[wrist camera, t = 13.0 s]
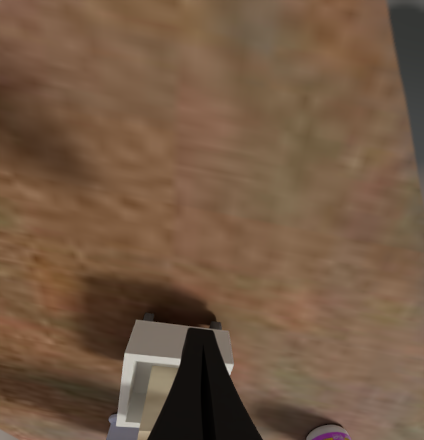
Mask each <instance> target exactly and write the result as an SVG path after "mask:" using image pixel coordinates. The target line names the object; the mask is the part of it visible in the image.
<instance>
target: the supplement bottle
mask: <svg viewBox="0 0 424 440" xmlns="http://www.w3.org/2000/svg"><path fill="white" fill-rule="evenodd" d="M306 440H351V438H350V436H349V434H348V433H347V431H346V430H345V429H344V428H342V427H340V426H337V425H324V426H320V427H318V428H316V429H314V430H313V431H311V432H310V433H309V434H308V436H307V438H306Z"/></svg>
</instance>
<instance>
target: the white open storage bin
mask: <svg viewBox="0 0 424 440" xmlns="http://www.w3.org/2000/svg"><path fill="white" fill-rule="evenodd" d="M153 320H154V314H152V313H145V315H144V318H143V320H136V322H135V325H134V327H133V330H132V333H131V336H130V339H129V342H128V345H127V348H126V350H125V354H124V362H123V371H122V379H121V388H120V396H119V405H118V413H117V421H116V426H118V427H136V428H140V423H141V418H142V413H143V408H144V404H145V399H146V394H147V389H148V384H149V379H150V374H151V370H152V366H162V367H173V368H179V365H180V361H181V354H182V350H183V346H184V342H185V338H186V334H187V330H188V328H190V327H192V326H184V325H176V324H168V323H160V322H153ZM192 328H200V327H192ZM200 329H208V328H200ZM208 330H213V331H214V333H215V337H216V340H217V343H218V346H219V349H220V352H221V355H222V358H223V360H224V363H225V365H226V368H227V370H228V373H229V375H230V373H231V371H232V368H233V366H234V361H233V355H232V348H231V342H230V335H229V331H224V330H222V329H221V323H220V322H214V321H211V323H210V327H209V329H208Z"/></svg>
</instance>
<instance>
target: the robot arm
mask: <svg viewBox="0 0 424 440" xmlns="http://www.w3.org/2000/svg"><path fill="white" fill-rule="evenodd" d="M116 421H117V414H114V415H111V416H109V422H110V423H111V425H110V428H109V432H108V435H107V438H106V440H137V438H138V433H139V428H136V427H118V426H116ZM147 440H263V439H262V437H261V436H260V434H259V433H258V431H257V429H256V427H255V425H254V424H253V422H252V420H251V418H250V417H249V415H248V413H247V411H246V409H245V407H244V405H243V403H242V401H241V399H240V397H239V395H238V393H237V391H236V389H235V387H234V384H233V382H232V380H231V378H230V375H229V373H228V370H227V368H226V365H225V363H224V360H223V358H222V355H221V352H220V349H219V346H218V343H217V340H216V337H215V333H214V331H213V330H208V329H200V328H192V327H190V328H188V330H187V334H186V338H185V342H184V346H183V350H182V354H181V361H180V365H179V368H178V371H177V374H176V376H175V379H174V381H173V384H172V387H171V389H170V391H169V394H168V396H167V399H166V401H165V403H164V405H163V407H162V410H161V412H160V414H159V416H158V418H157V420H156V422H155V424H154V427H153V429H152V431H151V433H150V435H149V437H148V439H147Z"/></svg>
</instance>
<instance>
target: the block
mask: <svg viewBox="0 0 424 440" xmlns="http://www.w3.org/2000/svg"><path fill="white" fill-rule="evenodd" d="M177 371H178V368H173V367H162V366H152V370H151V374H150V379H149V384H148V389H147V394H146V399H145V404H144V408H143V413H142V418H141V423H140V428H139V433H138V438H137V440H147V439H148V437H149V435H150V433H151V431H152V429H153V427H154V424H155V422H156V420H157V418H158V416H159V414H160V412H161V410H162V407H163V405H164V403H165V401H166V399H167V396H168V394H169V391H170V389H171V387H172V384H173V381H174V379H175V376H176V374H177Z"/></svg>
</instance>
